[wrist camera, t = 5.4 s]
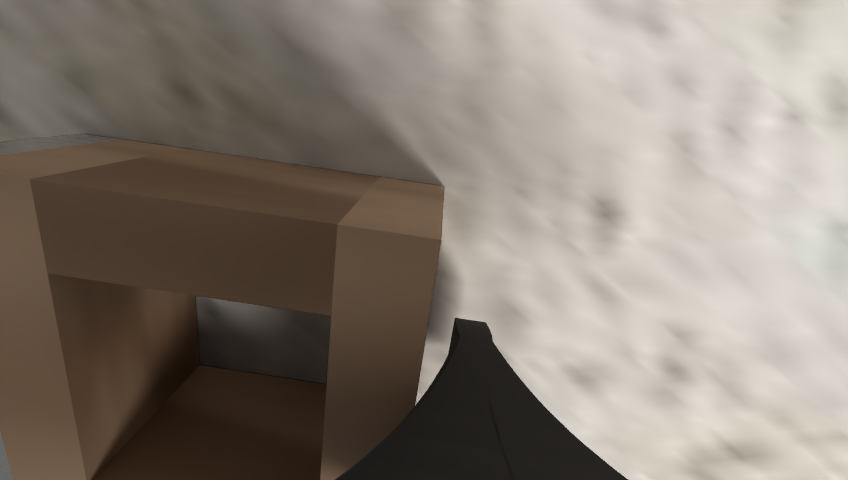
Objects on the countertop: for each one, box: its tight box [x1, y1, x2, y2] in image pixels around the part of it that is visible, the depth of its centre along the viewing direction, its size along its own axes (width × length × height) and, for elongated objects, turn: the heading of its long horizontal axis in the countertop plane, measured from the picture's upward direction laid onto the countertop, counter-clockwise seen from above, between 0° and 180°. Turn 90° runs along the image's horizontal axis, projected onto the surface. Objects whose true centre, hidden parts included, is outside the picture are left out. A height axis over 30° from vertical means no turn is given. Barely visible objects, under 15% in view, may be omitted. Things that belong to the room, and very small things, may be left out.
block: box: [0, 140, 444, 480], centre depth 9 cm, size 8×8×4 cm
